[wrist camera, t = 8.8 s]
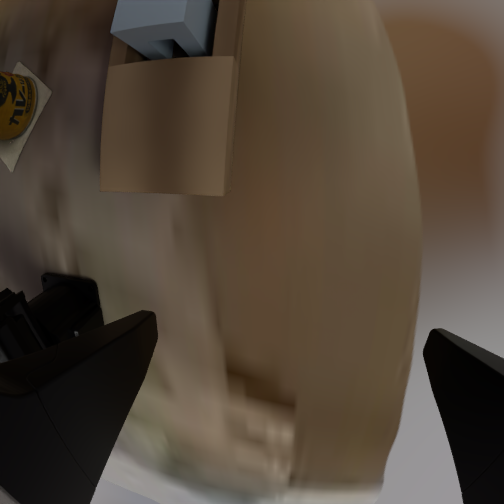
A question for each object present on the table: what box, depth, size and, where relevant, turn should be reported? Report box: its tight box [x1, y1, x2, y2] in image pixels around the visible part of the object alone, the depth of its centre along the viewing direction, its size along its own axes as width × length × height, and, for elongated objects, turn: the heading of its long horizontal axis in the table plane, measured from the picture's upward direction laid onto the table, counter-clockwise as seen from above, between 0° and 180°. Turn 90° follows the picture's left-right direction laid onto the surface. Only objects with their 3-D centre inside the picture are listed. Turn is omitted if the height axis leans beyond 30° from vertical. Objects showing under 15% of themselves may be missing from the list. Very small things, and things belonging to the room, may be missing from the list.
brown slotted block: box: [100, 0, 246, 196], centre depth 15 cm, size 8×20×3 cm, turn 176°
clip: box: [110, 0, 217, 60], centre depth 13 cm, size 4×4×7 cm
